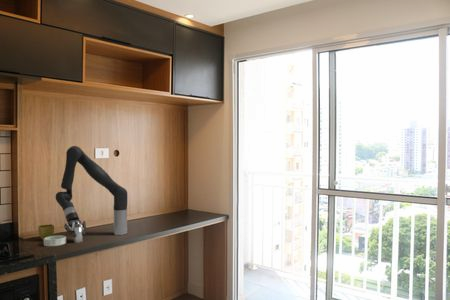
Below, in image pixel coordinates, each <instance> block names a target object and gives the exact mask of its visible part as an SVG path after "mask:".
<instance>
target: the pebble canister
mask: <svg viewBox="0 0 450 300" xmlns="http://www.w3.org/2000/svg"><path fill="white" fill-rule="evenodd" d="M82 227H83V225H82V226H75V227H74V232H75V234H76V237H73V243H74V244H78V243H83V236H82Z"/></svg>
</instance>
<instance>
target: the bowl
mask: <svg viewBox="0 0 450 300" xmlns="http://www.w3.org/2000/svg"><path fill="white" fill-rule="evenodd" d="M65 244H67V235H64V234H63V235H59V234H58V235H53V236H49V237H45V238H44V240H43V246H44V247H58V246H63V245H65Z"/></svg>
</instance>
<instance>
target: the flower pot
mask: <svg viewBox="0 0 450 300" xmlns="http://www.w3.org/2000/svg"><path fill="white" fill-rule="evenodd" d="M37 230H38V235H39V237H40V239H41V240H42V241H44V238H45V237H49V236H54V234H55V233H54V232H55V225H54V224H44V225H38V226H37Z"/></svg>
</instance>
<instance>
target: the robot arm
mask: <svg viewBox="0 0 450 300" xmlns="http://www.w3.org/2000/svg"><path fill="white" fill-rule="evenodd" d="M77 163H78V164H80V166H82V167H83V169H84V170H85V172H86V173H87V174H88V175H89V176H90V177H91V179H93V180H94V181H95V182H96V183H97V184H99V185H101V186H102V187H104V188H105V189H106V190H108V192H109V193H110V194H111V195H112V196H113V235H115V236H122V235H126V234H128V191H127V189H125V187H122V186H121V185H120V184H118V183H117V182H115V180H113V178H112V177H111V176H110V175H109V174H108V173H107V172H106V171H105V169H103V168H102V167H101V166H100V165H99V164H98V163H96V162H95V161H94V160H93V159H91V158H90V157H89V156H88V155H87V154H86V153H85V152H84V151H83V150H82V148H81V147H79V146H77V145H73V146H69V147H68V149H67V150H66V156H65V166H64V172H63V176H62V179H61V183H60V184H61V185H60V187H61V189H63V190H66V191H57V192H56V194H55V200H56V202H57V203H58V205H59V206H60V207H61V208H62V211H63V214H64V217H65V219H66V222H67V223H64V224H63V227H64V229H65V230H66V232H67V233H70V234H71V236H72V237H73V238H74V237H76V234H75V232H74V227H75V226H82V237H84V236H85V235H86V232H85V230H86V228H87V226H86V225H87V223H86V220H82V221H81V220H80V216H79V214H78V212H77V210H76V208H75V206H74V203H73V202H72V199H73V184H74V178H75V171H76V166H77Z"/></svg>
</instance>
